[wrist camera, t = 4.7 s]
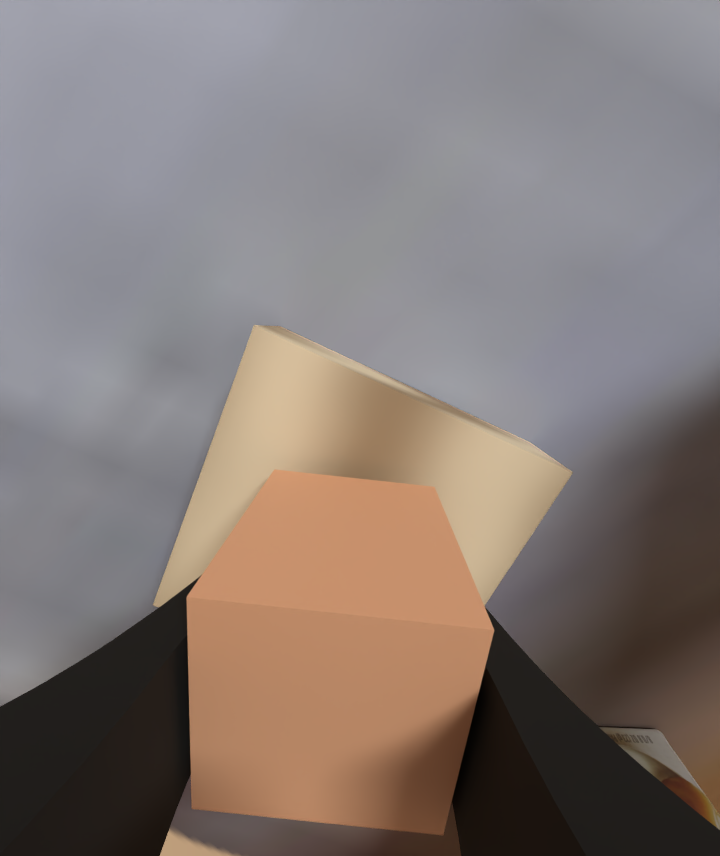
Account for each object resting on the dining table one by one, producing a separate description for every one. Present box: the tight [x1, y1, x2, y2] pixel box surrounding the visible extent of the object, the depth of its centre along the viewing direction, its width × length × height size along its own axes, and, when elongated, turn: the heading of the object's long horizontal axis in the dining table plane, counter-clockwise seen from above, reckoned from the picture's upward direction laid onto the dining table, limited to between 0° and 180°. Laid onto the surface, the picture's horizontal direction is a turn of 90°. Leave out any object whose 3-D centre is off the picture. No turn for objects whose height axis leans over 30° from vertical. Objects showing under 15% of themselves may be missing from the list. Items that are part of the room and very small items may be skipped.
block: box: [187, 469, 494, 835], centre depth 8 cm, size 4×4×5 cm
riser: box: [153, 325, 573, 607], centre depth 13 cm, size 10×10×3 cm
